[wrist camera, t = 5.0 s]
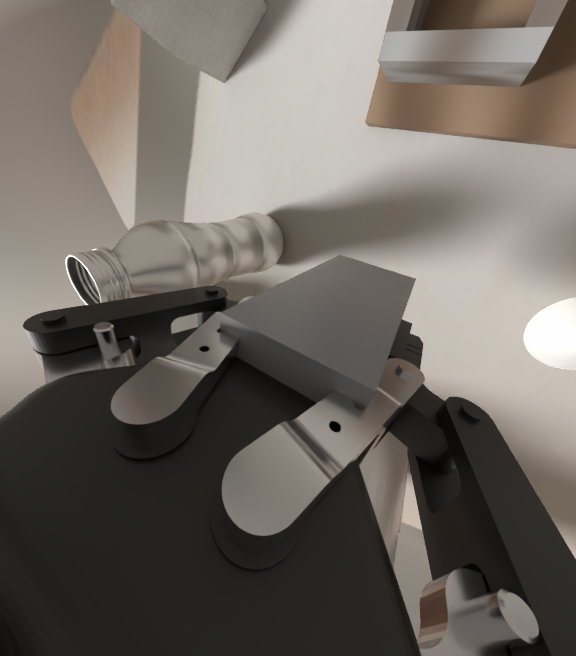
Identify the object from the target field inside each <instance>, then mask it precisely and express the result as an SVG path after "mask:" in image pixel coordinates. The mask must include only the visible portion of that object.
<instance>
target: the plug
mask: <svg viewBox="0 0 576 656" xmlns="http://www.w3.org/2000/svg"><path fill="white" fill-rule="evenodd" d="M415 280H416V279H415V278H411V277H408V276H405V275H402V274H399V273H396V272H392V271H389V270H386V269H383V268H380V267H377V266H373V265H370V264H367V263H364V262H361V261H358V260H355V259H351V258H348V257H345V256H342V255H339V256H337V257H335V258H333V259H331V260H329V261H327V262H324V263H322V264H320V265H318V266H316V267H314V268H312V269H310V270H308V271H306V272H304V273H302V274H300V275H297V276H295V277H293V278H291V279H289V280H287V281H285V282H283V283H281V284H279V285H277V286H275V287H273V288H270V289H268V290H266V291H264V292H262V293H260V294H258V295H256V296H254V297H252V298H250V299H248V300H246V301H243V302H241V303H239V304H237V305H235V306H233V307H231V308H229V309H227V310H225V311H223V312H221V313H220V333H224V332H228V333H230V334H232V335H234V336H236V337H238V338H239V350H238V354H237V355H236V357H238V358H240V359H241V360H243V361H245V362H247V363H248V364H250V365H252V366H254V367H255V368H257V369H259V370H261V371H262V372H264V373H266V374H267V375H269V376H271V377H273V378H274V379H276V380H278V381H279V382H281V383H283V384H285V385H287V386H288V387H290V388H292V389H294V390H295V391H297V392H299V393H301V394H302V395H304V396H306V397H308V398H309V399H311V400H313V401H315V402H316V403H318V402H319V401H321V400H322V399H324V398H325V397H326V396H328V395H329V394H331V393H332V392H333V391H335V390H337V391H338V392H340V393H342V394H344V395H346V396H348V397H350V398H351V399H353V400H355V403H354V406H355V407H356V408H357V409H359V410H362V409H363V407H364V405H365V406H366V407H368V405H369V403H370V401H371V399H372V397H373V396H374V394H375V392H376V389H377V387H378V384H379V381H380V378H381V375H382V373H383V370H384V367H385V364H386V361H387V359H388V356H389V353H390V350H391V347H392V344H393V342H394V339H395V336H396V333H397V330H398V328H399V325H400V322H401V319H402V316H403V314H404V311H405V308H406V305H407V302H408V300H409V297H410V294H411V291H412V288H413V285H414V283H415Z"/></svg>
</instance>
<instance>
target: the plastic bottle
mask: <svg viewBox="0 0 576 656" xmlns="http://www.w3.org/2000/svg"><path fill="white" fill-rule="evenodd" d="M282 251H283V236H282V232H281V230H280V228H279V226H278V224H277V223H276V222H275V221H274V220H273V219H272V218H271V217H269V216H267V215H264V214H259V213H249V214H245V215H242V216H239V217H237V218H235V219H232V220H227V221H223V222H218V223H185V222H174V221H164V220H148V221H144V222H142V223H140V224H138V225H135V226H133V227H132V228H131V229H130V230H129V231H128V232H127V233H126V234H125V235H124V236H123V237H122V238H121V239H120V240H119V242H118V243H117V244H116V246H115V247H114V248H113V250H110V249H108V248H105V247H99V248H93V249H92V250H91V251H85V252H79V253H72V254H70V255H67V256H66V260H65V264H66V269H67V273H68V276H69V278H70V281H71V283H72V285H73V287H74V289H75V290H76V292H77V293H78V295H79V296H80V298H81V299H82V300H83V301H84V303H85V304H86V305H90V304H96V303H103V302H109V301H115V300H121V299H128V298H134V297H140V296H146V295H153V294H159V293H165V292H172V291H178V290H184V289H190V288H197V287H203V286H212V285H215V284H217V283H219V282H221V281H224V280H225V279H228V278H230V277H233V276H238V275H242V274H246V273H257V272H262V271H266V270H267V269H269V268H270V267H272V266H273V265H274V264H276V263H277V262H278V260H279V259H280V257H281V254H282Z"/></svg>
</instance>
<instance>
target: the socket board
mask: <svg viewBox="0 0 576 656" xmlns="http://www.w3.org/2000/svg"><path fill="white" fill-rule="evenodd" d="M378 62H379V64H380V68H379V72H378V76H377V80H376V84H375V87H374V91H373V95H372V99H371V103H370V106H369V110H368V114H367V118H366V122H365V123H366V124H367V125H368V126H373V127H382V128H391V129H401V130H410V131H419V132H428V133H437V134H446V135H455V136H464V137H474V138H483V139H492V140H501V141H510V142H519V143H528V144H538V145H547V146H556V147H565V148H574V149H576V0H394V1H393V5H392V9H391V13H390V16H389V20H388V24H387V28H386V32H385V36H384V40H383V44H382V47H381V51H380V55H379V59H378Z"/></svg>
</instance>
